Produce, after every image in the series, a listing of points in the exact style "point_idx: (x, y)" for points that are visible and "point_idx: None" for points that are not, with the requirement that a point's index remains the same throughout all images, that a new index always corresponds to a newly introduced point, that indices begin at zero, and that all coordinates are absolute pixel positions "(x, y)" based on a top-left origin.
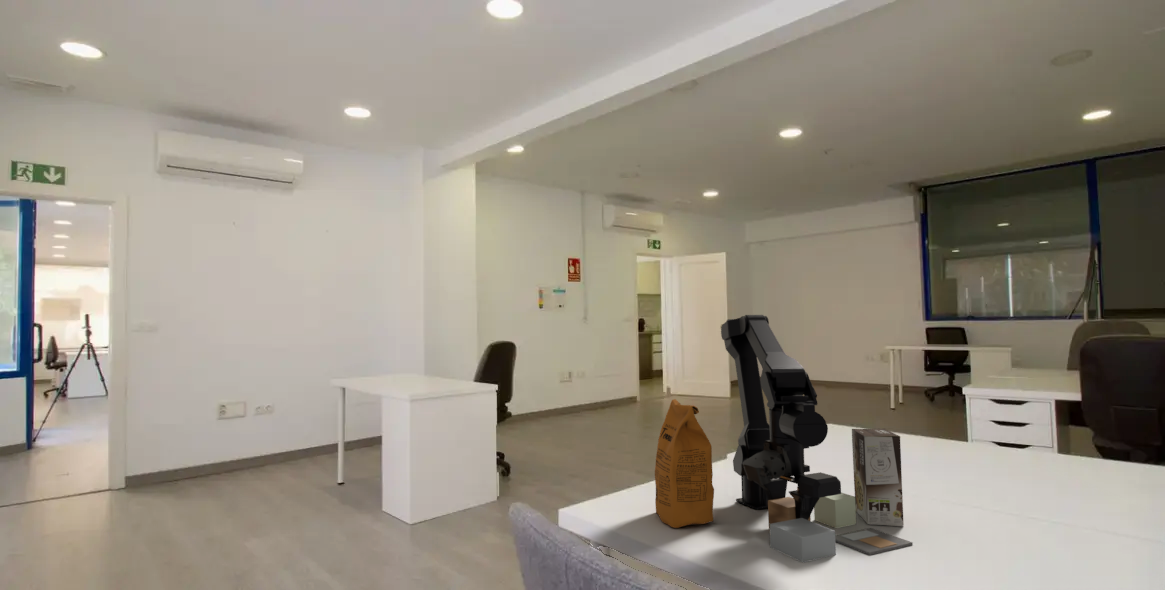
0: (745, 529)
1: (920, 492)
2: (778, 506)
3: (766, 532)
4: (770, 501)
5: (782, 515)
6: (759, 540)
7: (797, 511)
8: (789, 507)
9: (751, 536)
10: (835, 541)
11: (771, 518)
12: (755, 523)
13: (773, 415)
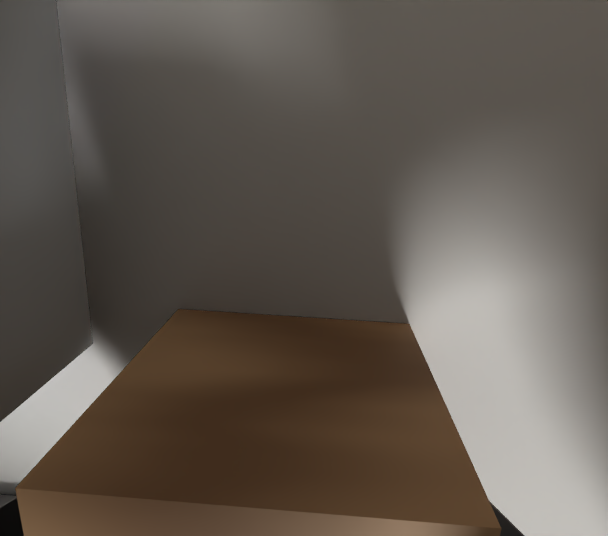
0: (519, 135)
1: None
2: (241, 476)
3: (355, 245)
4: (434, 521)
5: (196, 402)
6: (232, 33)
7: (9, 533)
8: (22, 513)
9: (348, 43)
10: (3, 495)
11: (384, 371)
12: (570, 329)
13: None
